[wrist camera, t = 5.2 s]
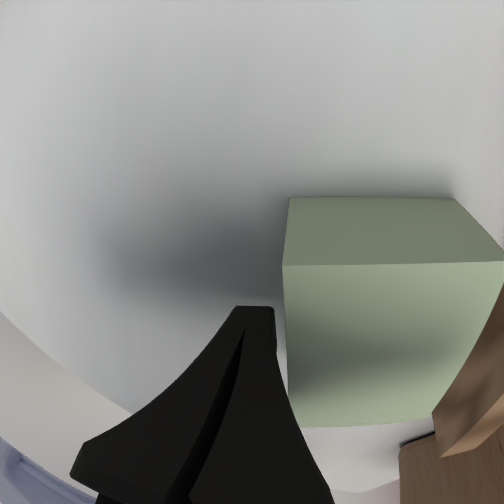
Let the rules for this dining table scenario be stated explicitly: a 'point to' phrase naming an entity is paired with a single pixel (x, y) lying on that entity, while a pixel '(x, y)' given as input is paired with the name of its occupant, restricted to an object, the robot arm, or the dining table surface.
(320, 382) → the sage block
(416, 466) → the block
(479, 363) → the notched wooden bar
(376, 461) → the dining table surface
